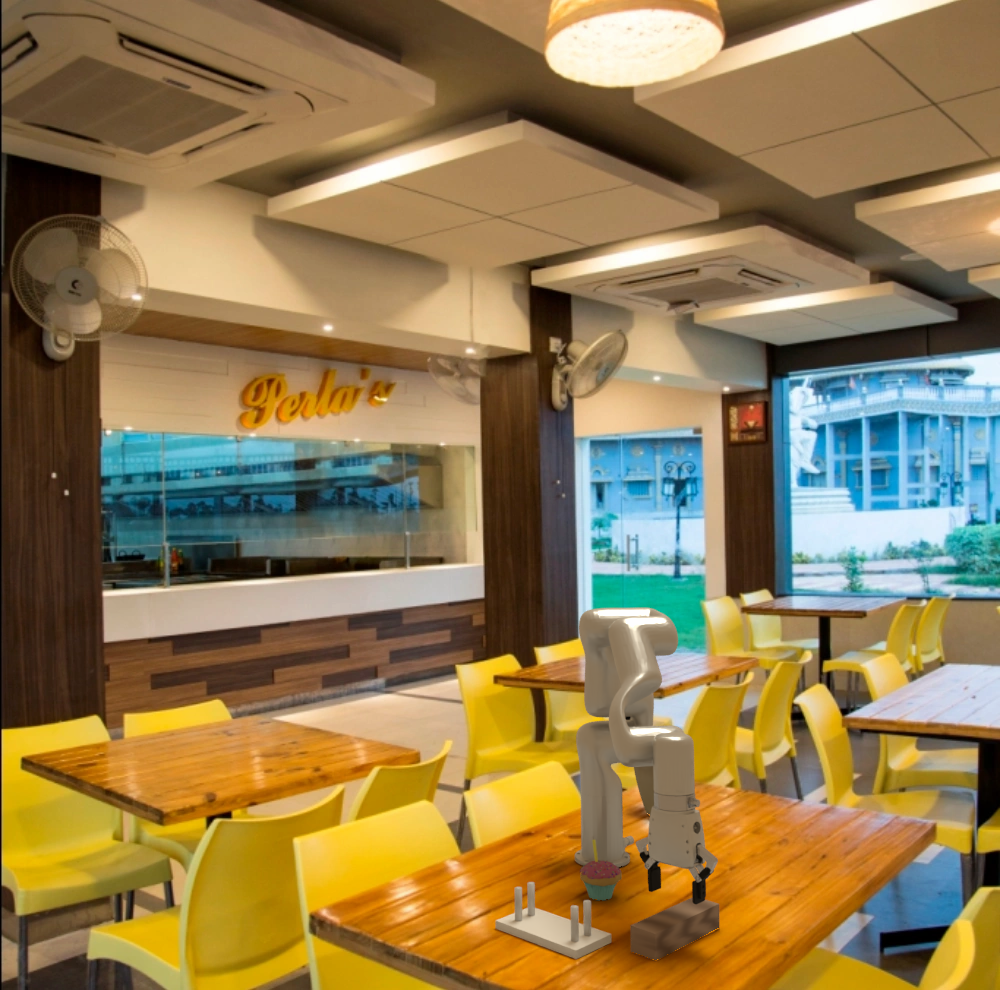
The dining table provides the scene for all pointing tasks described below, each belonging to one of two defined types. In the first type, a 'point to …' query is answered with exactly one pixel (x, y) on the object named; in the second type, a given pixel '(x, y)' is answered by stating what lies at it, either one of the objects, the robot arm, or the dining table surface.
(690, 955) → the dining table surface
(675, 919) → the wooden block
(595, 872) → the cupcake
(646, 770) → the plant pot
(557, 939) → the peg stand
